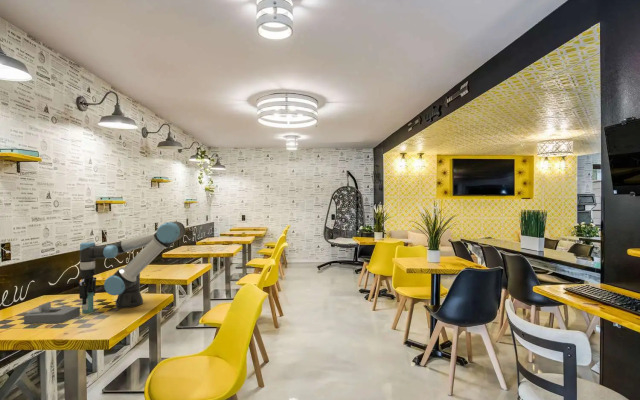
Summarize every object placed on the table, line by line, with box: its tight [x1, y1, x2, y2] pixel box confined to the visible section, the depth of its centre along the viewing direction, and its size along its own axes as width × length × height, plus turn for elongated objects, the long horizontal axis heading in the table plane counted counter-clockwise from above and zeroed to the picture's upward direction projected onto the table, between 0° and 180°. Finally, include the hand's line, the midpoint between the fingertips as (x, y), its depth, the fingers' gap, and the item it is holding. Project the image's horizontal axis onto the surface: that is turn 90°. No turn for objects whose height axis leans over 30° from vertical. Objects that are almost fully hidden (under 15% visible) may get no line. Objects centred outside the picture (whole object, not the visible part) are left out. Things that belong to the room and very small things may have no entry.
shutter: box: [26, 301, 52, 314], centre depth 190 cm, size 8×8×4 cm
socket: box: [23, 306, 81, 325], centre depth 190 cm, size 20×14×4 cm
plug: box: [81, 292, 94, 314], centre depth 202 cm, size 4×4×11 cm
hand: (87, 308), depth 202 cm, fingers closed on plug, 4 cm apart
